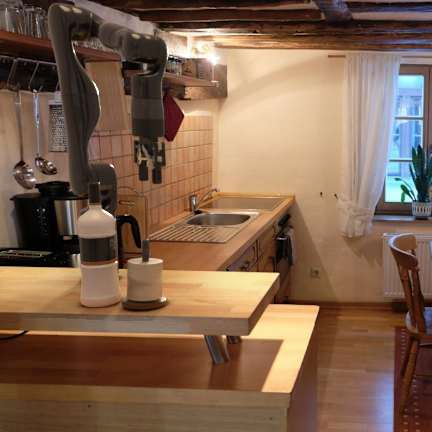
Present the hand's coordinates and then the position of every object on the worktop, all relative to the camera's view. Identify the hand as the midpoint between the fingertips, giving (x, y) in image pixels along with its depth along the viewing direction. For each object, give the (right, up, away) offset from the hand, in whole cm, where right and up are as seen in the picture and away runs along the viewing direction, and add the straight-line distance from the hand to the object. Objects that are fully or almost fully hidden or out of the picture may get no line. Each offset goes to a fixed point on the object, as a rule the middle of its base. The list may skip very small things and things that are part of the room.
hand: (150, 182), depth 142 cm
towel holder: (+4, -22, -1) cm, 22 cm away
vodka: (-11, -30, -2) cm, 32 cm away
